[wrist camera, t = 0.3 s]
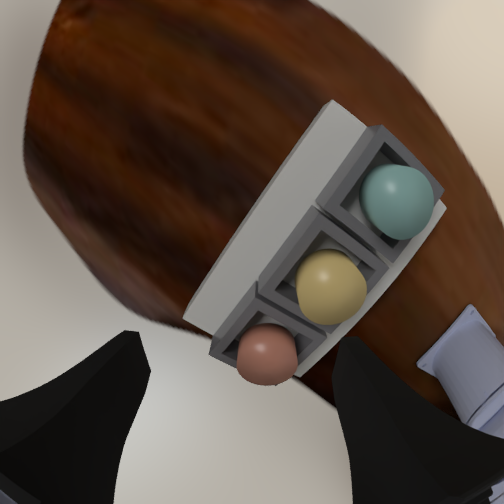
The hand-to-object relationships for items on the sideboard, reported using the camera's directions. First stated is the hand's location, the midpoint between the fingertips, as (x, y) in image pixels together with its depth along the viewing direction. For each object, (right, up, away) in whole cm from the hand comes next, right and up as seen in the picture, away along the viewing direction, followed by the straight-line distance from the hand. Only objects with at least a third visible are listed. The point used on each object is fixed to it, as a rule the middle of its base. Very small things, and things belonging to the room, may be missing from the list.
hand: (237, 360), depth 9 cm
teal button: (+7, +7, +3) cm, 11 cm away
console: (+5, +4, +9) cm, 10 cm away
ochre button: (+4, +2, +5) cm, 7 cm away
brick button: (+1, -2, +7) cm, 7 cm away
